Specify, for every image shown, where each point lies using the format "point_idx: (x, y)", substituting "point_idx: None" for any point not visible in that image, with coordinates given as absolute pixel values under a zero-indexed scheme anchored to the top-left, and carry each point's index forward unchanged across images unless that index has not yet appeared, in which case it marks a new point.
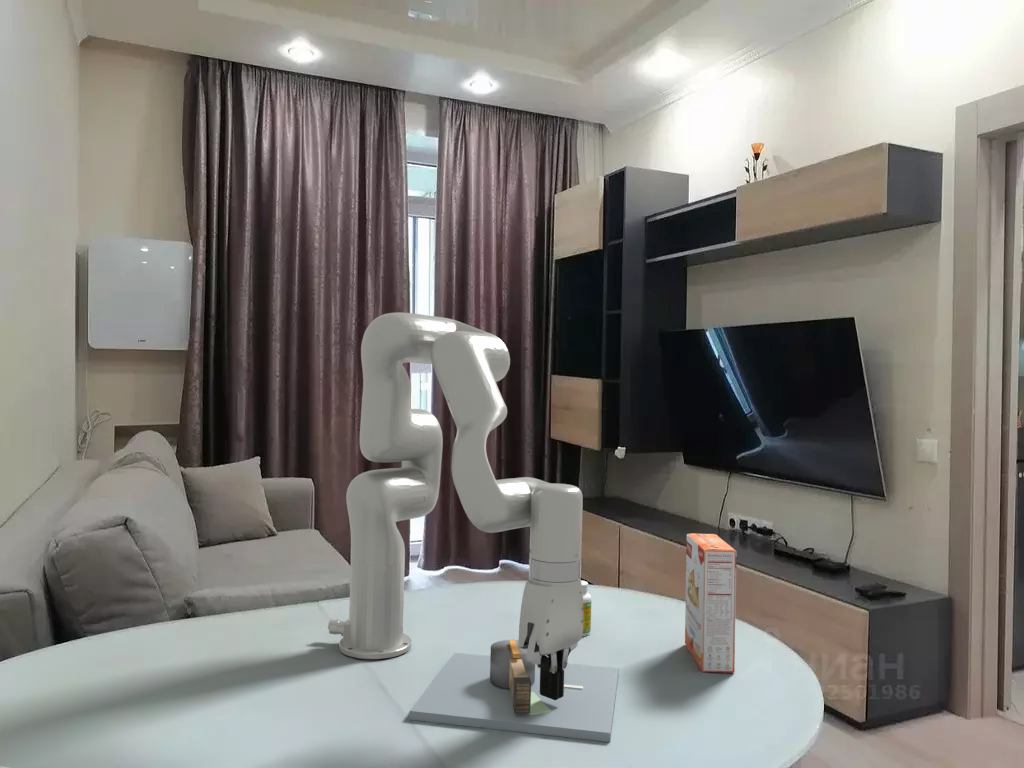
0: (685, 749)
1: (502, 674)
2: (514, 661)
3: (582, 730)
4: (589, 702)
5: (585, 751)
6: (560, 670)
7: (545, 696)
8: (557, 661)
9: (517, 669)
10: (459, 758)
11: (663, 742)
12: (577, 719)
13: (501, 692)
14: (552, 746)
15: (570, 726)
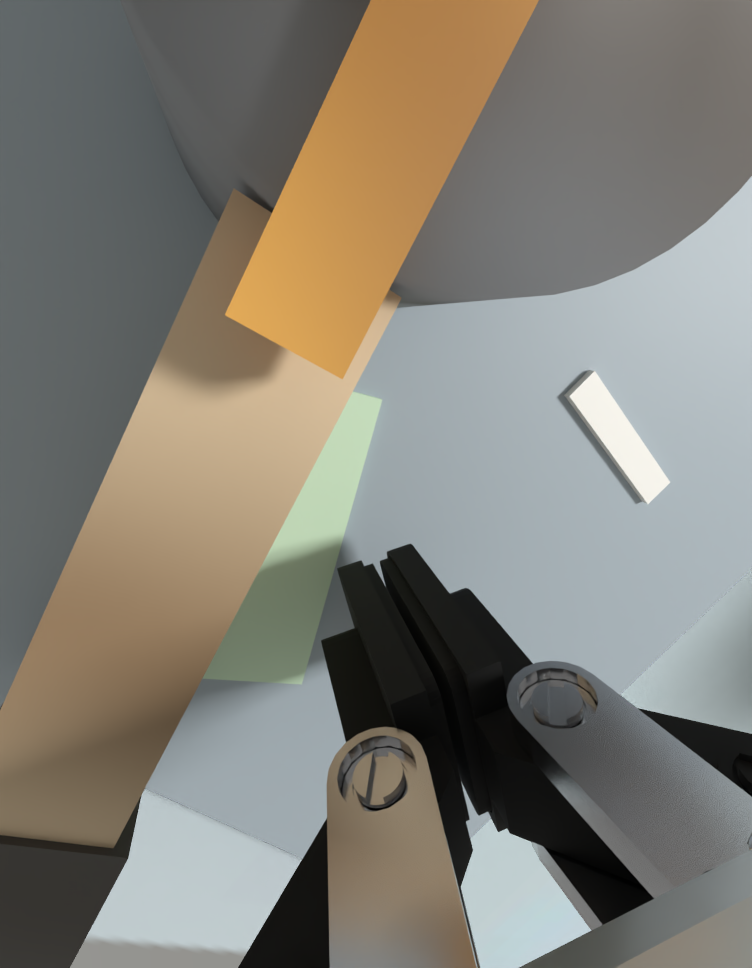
0: (551, 931)
1: (182, 150)
2: (242, 341)
3: None
4: (550, 644)
5: (256, 903)
6: (497, 815)
7: (348, 607)
8: (549, 834)
9: (124, 611)
10: None
11: (537, 890)
12: None
13: (157, 251)
14: (147, 851)
15: (289, 831)
